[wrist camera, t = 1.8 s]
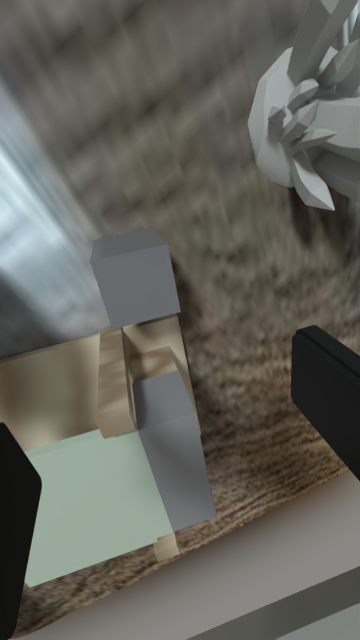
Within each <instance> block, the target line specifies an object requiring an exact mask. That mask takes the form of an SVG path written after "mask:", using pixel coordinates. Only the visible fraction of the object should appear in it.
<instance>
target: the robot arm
mask: <svg viewBox="0 0 360 640" xmlns="http://www.w3.org/2000/svg"><path fill="white" fill-rule="evenodd" d="M291 397H292V400H293V402H294V404H295V405H296V406H297V408H298V409H299V410H300V411H301V412H302V414H303V415H304V416H305V417H306V418H307V419H308V421H309V422H310V423H311V424H312V425H313V427H314V428H315V429H316V430H317V431H318V432H319V434H320V435H321V436H322V437H323V438H324V440H325V441H326V442H327V443H328V444H329V445H330V447H331V448H332V449H333V450H334V451H335V453H336V454H337V455H338V456H339V457H340V458H341V460H342V461H343V462H344V463H345V464H346V466H347V467H348V468H349V469H350V470H351V471H352V473H353V474H354V475H355V476H356V477H357V478H358V480H359V481H360V356H359V355H358V354H356V353H355V352H353V351H352V350H351V349H349V348H348V347H346V346H345V345H343V344H342V343H341V342H339V341H338V340H336V339H335V338H333V337H332V336H331V335H329V334H328V333H326V332H325V331H323V330H322V329H321V328H319V327H318V326H316V325H312V326H309V327H305V328H302V329H299V330H297V331H296V335H294V336H293V337H292V365H291ZM41 491H42V480H41V477H40V475H39V474H38V472H37V471H36V469H35V468H34V466H33V465H32V463H31V462H30V460H29V459H28V457H27V456H26V454H25V453H24V451H23V450H22V448H21V447H20V445H19V444H18V442H17V441H16V439H15V438H14V436H13V435H12V433H11V432H10V430H9V429H8V427H7V426H6V424H5V423H3V422H0V640H8V639H9V638H11V636H12V635H13V633H14V631H15V627H16V623H17V618H18V613H19V607H20V602H21V597H22V591H23V586H24V581H25V575H26V570H27V565H28V560H29V554H30V549H31V544H32V538H33V533H34V528H35V522H36V517H37V512H38V507H39V501H40V496H41ZM187 640H360V566H359V567H357V568H354V569H352V570H350V571H347V572H345V573H342V574H340V575H338V576H336V577H333V578H331V579H329V580H326V581H323V582H321V583H319V584H316V585H314V586H311V587H309V588H307V589H305V590H302V591H300V592H297V593H295V594H292V595H290V596H288V597H285V598H283V599H281V600H278V601H276V602H274V603H271V604H269V605H266V606H264V607H262V608H260V609H257V610H255V611H252V612H250V613H248V614H245V615H243V616H241V617H238V618H236V619H234V620H231V621H229V622H226V623H224V624H222V625H220V626H217V627H215V628H212V629H210V630H208V631H205V632H203V633H201V634H198V635H196V636H194V637H191V638H189V639H187Z"/></svg>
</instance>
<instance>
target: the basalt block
mask: <svg viewBox="0 0 360 640" xmlns="http://www.w3.org/2000/svg"><path fill="white" fill-rule="evenodd" d="M91 265H92V268H93V271H94V274H95V277H96V280H97V283H98V286H99V289H100V292H101V295H102V298H103V301H104V304H105V307H106V310H107V313H108V316H109V319H110V322H111V325H112V328H113V330H114V329H118V328H121V327H125V326H129V325H133V324H137V323H140V322H144V321H148V320H152V319H156V318H159V317H163V316H167V315H171V314H175V313H178V312H181V310H180V305H179V300H178V295H177V289H176V284H175V279H174V274H173V269H172V263H171V258H170V253H169V248H168V244H167V243H166V241H165V240H164V239H163V238H162V237H161V236H160V235H159V234H158V233H157V232H156V231H155V230H154V228H153V227H151V228H147V229H142V230H138V231H134V232H129V233H125V234H120V235H116V236H111V237H107V238H102V239H98V240H94V245H93V250H92V256H91Z"/></svg>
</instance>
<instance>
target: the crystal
mask: <svg viewBox="0 0 360 640" xmlns="http://www.w3.org/2000/svg"><path fill="white" fill-rule="evenodd" d="M357 1H358V0H310V2H309V4H308V6H307V9H306V11H305V14H304V16H303V18H302V21H301V23H300V26H299V30H298V33H297V36H296V40H295V43H294V46H293V47H292V48H289V49H287V50H285V52H284V53H283V54H282V55H281V56H280V57H279V58H278V60H277V61H276V62H275V63H274V64H273V65H272V66H271V68H270V69H269V70H268V71H267V72H266V73H265V74H264V76H263V77H262V78H261V79H260V80H259V83H258V87H257V91H256V94H255V98H254V102H253V105H252V109H251V113H250V116H249V120H248V127H249V132H250V136H251V141H252V145H253V150H254V155H255V160H256V165H257V166H258V167H259V168H260V169H261V171H262V172H263V173H264V174H265V175H266V176H267V178H268V179H269V180H270V181H272V182H275V183H277V184H279V185H281V186H284V187H286V188H291V187H295V188H296V191H297V193H298V195H299V196H300V197H301V199H302V200H303V202H304V203H305V205H307V206H312V207H317V208H322V209H327V210H332V211H335V208H334V205H333V201H332V198H331V195H330V192H329V189H328V187H327V185H328V186H329V187H331V188H332V189H334V190H335V191H337V192H338V193H340V194H342V195H345V196H347V197H349V198H351V199H353V200H355V201H357V202H360V12H359V14H358V15H357V19H356V22H355V25H354V28H353V32H352V35H351V38H350V41H349V44H348V45H347V46H345V47H344V48H343V49H342V50H340V51H339V52H338V51H336V50H335V49H333V48H332V47H331V44H332V42H333V40H334V38H335V36H336V35H337V33H338V32H339V30H340V29H341V27H342V25H343V24H344V22H345V21H346V19H347V18H348V16H349V15H350V13H351V11H352V10H353V8H354V7H355V5H356V4H357ZM326 184H327V185H326Z"/></svg>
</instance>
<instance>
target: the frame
mask: <svg viewBox="0 0 360 640" xmlns="http://www.w3.org/2000/svg"><path fill="white" fill-rule="evenodd" d="M176 370H179V371H180V374H181V377H182V379H183V382H184V385H185V387H186V390H187V392H188V395H189V398H190V400H191V403H192V406H193V408H194V411H195V414H196V419H197V424H198V429H199V434H200V435H201V430H200V425H199V420H198V415H197V410H196V405H195V400H194V395H193V391H192V386H191V381H190V376H189V371H188V366H187V361H186V356H185V351H184V346H183V341H182V336H181V331H180V326H179V321H178V316H177V314H176V313H175V314H171V315H167V316H163V317H159V318H156V319H152V320H148V321H144V322H140V323H137V324H133V325H129V326H125V327H121V328H118V329H114V330H113V328H112V327H108V328H104V329H100V333H98V334H94V335H90V336H87V337H83V338H79V339H75V340H71V341H68V342H64V343H60V344H56V345H52V346H49V347H45V348H41V349H37V350H33V351H30V352H26V353H22V354H18V355H14V356H11V357H7V358H3V359H0V422H3V423H5V424H6V426H7V427H8V429H9V430H10V432H11V433H12V435H13V436H14V438H15V439H16V441H17V442H18V444H19V445H20V447H21V448H22V450H23V451H24V452H25V451H28V450H31V449H34V448H38V447H41V446H44V445H48V444H51V443H54V442H57V441H61V440H64V439H67V438H71V437H74V436H77V435H80V434H84V433H87V432H90V431H94V430H97V429H100V431H101V434H102V436H103V438H104V439H107V438H110V437H113V436H117V435H120V434H123V433H126V432H130V431H133V430H136V429H135V423H137V420H136V413H135V405H134V397H133V389H132V383H135V382H138V381H142V380H145V379H149V378H152V377H156V376H159V375H162V374H166V373H169V372H173V371H176ZM153 546H154V553H155V556H156V558H157V560H158V562H159V561H162V560H164V559H167V558H170V557H173V556H175V555H178V554H180V552H179V547H178V542H177V537H176V532H175V531H174V532H173V533H170V534H168V535H165V536H162V537H159V538H158V541H157V542H155V543H153Z"/></svg>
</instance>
